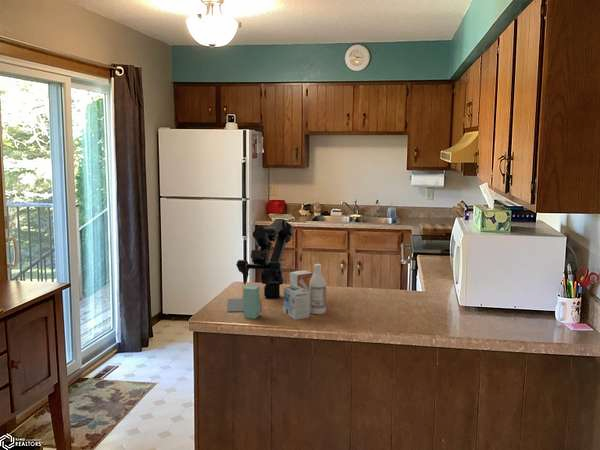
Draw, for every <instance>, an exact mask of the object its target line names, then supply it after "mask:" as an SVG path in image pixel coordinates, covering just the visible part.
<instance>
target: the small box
mask: <svg viewBox="0 0 600 450" xmlns="http://www.w3.org/2000/svg"><path fill="white" fill-rule="evenodd" d="M313 274H314V272H311V271H308V270H305V269H304V270H295V271H290V272H289V287H291V286H299V287H301V288H303V289H305V290H307V291H309V282H310V279H311V277H312V276H313Z"/></svg>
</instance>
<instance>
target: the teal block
mask: <svg viewBox="0 0 600 450" xmlns="http://www.w3.org/2000/svg"><path fill="white" fill-rule="evenodd" d="M242 291H243V296H242V297H243V299H244V312H243V319H253V320H255V319H257V318H258V317H259V316H260V314H261V313H260V312H261V311H260V306H261V300H259V299H260V285H250V284H248V285H246V286H245V287H244V288H243V289H242Z"/></svg>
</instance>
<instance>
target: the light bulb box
mask: <svg viewBox="0 0 600 450" xmlns="http://www.w3.org/2000/svg"><path fill="white" fill-rule="evenodd" d="M309 298H310V291H307V290H305V289H303V288H301V287H299V286H291V287H290V286H286V287H283V314H286V315H287V316H288V317H290V318H291V319H292V320H295V321H296V320H303V319H307V318H310V312H309Z"/></svg>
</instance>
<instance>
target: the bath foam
mask: <svg viewBox="0 0 600 450" xmlns="http://www.w3.org/2000/svg"><path fill="white" fill-rule="evenodd" d="M313 269H314V272H313V274H312V277H311V279H310V282H309V291H310V298H309V314H313V315H323V314H325V313H326V311H327V281H326V279H325V277H324V275H323V274H322V264H321V263H315V264H314V266H313Z"/></svg>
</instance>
